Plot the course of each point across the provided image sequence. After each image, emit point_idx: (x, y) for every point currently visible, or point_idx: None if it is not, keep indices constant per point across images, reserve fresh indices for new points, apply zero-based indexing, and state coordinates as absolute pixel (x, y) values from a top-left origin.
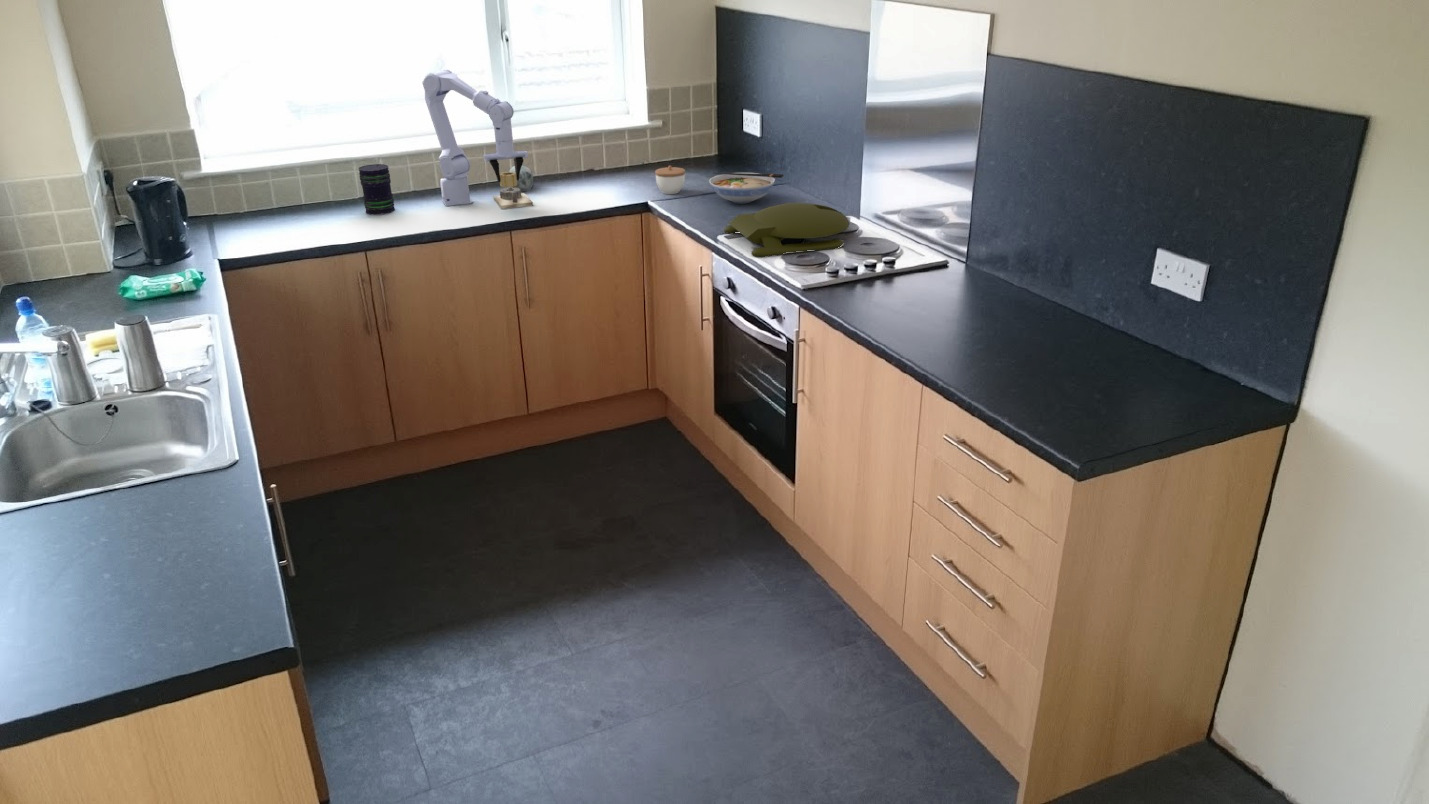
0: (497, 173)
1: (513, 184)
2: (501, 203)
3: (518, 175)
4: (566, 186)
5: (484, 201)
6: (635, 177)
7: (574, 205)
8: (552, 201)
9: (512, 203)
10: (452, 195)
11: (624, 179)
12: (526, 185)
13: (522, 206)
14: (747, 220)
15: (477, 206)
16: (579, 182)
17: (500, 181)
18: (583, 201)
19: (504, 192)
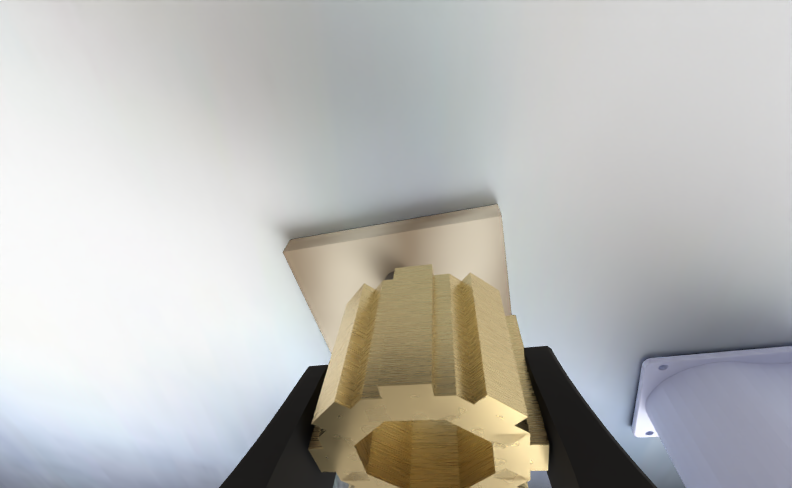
0: (605, 450)
1: (372, 302)
2: (491, 268)
3: (285, 409)
4: (209, 462)
5: (569, 373)
6: (4, 483)
7: (18, 181)
8: (196, 293)
9: (417, 250)
10: None
11: (29, 476)
12: None
13: (354, 229)
14: None
15: (636, 299)
16: (177, 485)
17: (526, 351)
18: (13, 253)
19: None
